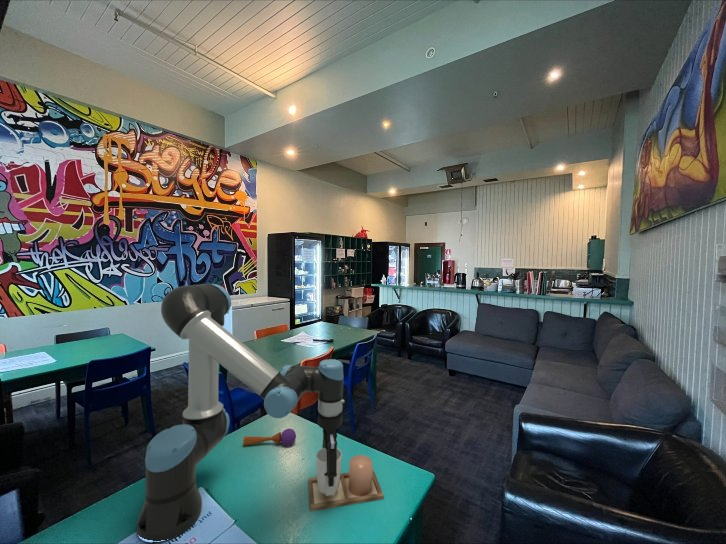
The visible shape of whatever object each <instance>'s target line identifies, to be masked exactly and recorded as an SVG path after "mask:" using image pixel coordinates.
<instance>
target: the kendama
mask: <svg viewBox="0 0 726 544" xmlns="http://www.w3.org/2000/svg"><path fill="white" fill-rule="evenodd" d="M296 439H297V433H296V432H295V430H294V429H293V428H286V429H284V430H283V431H282V432H281V431H279V432H278V433H276V434H273V435H272V436H249V435H248V436H244V437H243V440H242V445H243V447H247V446H250V445H255V444H261V443H264V442H265V443H266V442H269V441H272V442H275V443H277V444H279V445H280V444H282V445H284V446H286V447H287V446H292V445H293V443H294V442H295V441H296Z"/></svg>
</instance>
